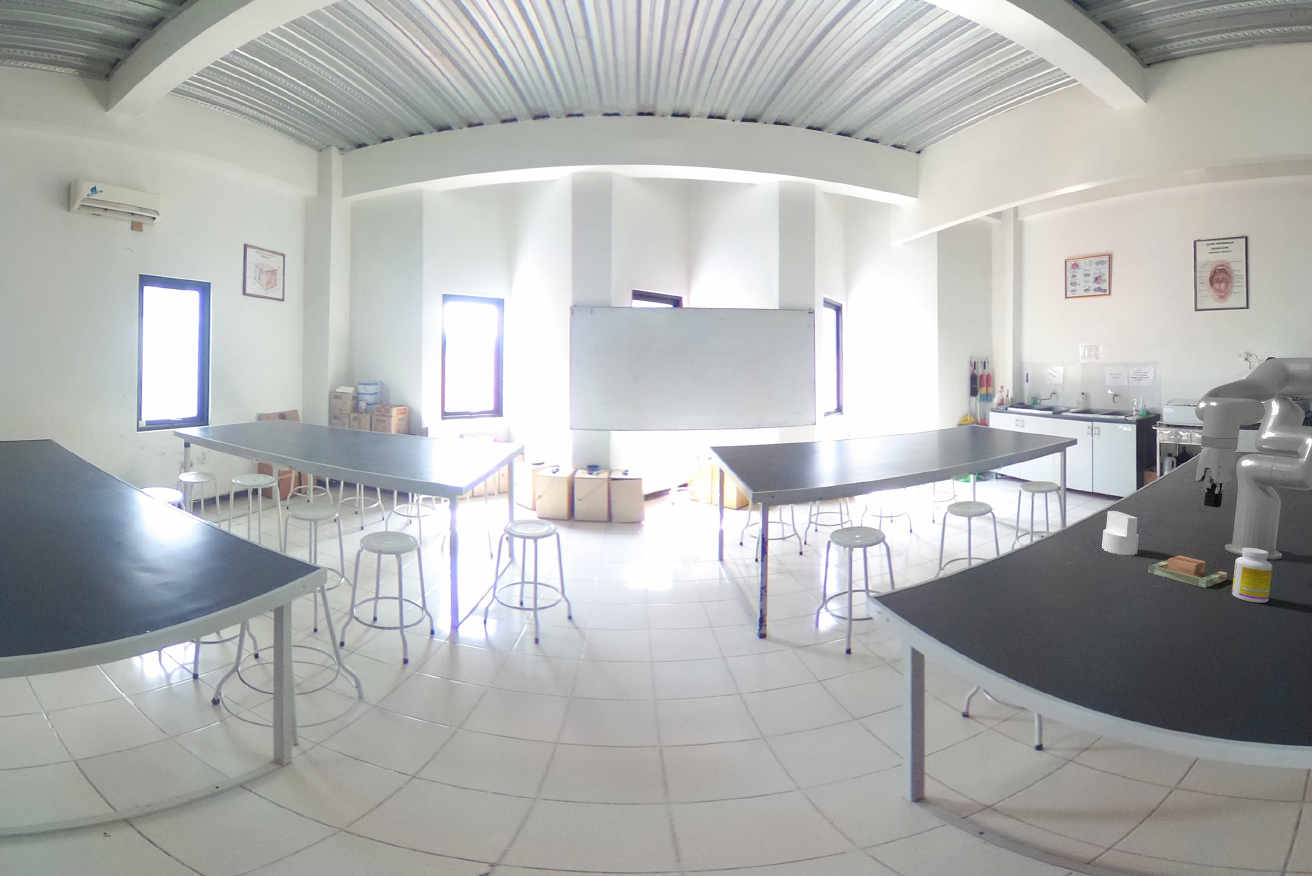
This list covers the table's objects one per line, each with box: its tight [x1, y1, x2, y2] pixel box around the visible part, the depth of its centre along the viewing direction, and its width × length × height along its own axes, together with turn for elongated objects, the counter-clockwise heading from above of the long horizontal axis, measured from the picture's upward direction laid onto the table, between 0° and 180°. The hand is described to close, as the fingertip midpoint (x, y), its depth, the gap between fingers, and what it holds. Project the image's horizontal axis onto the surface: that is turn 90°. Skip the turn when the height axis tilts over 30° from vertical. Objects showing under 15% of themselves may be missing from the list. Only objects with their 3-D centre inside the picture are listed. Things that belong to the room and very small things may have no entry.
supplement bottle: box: [1231, 548, 1273, 604], centre depth 148 cm, size 7×7×13 cm
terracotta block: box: [1167, 554, 1207, 578], centre depth 164 cm, size 6×6×5 cm
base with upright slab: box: [1101, 510, 1140, 556], centre depth 186 cm, size 9×9×12 cm
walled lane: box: [1147, 559, 1228, 588], centre depth 164 cm, size 12×13×2 cm
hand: (1212, 506), depth 167 cm, fingers closed
